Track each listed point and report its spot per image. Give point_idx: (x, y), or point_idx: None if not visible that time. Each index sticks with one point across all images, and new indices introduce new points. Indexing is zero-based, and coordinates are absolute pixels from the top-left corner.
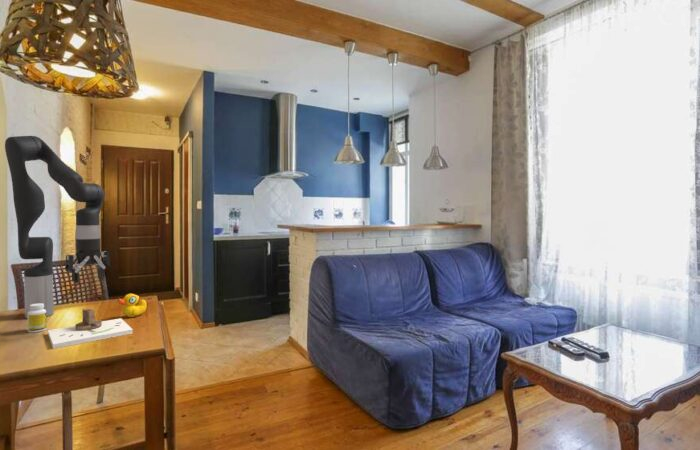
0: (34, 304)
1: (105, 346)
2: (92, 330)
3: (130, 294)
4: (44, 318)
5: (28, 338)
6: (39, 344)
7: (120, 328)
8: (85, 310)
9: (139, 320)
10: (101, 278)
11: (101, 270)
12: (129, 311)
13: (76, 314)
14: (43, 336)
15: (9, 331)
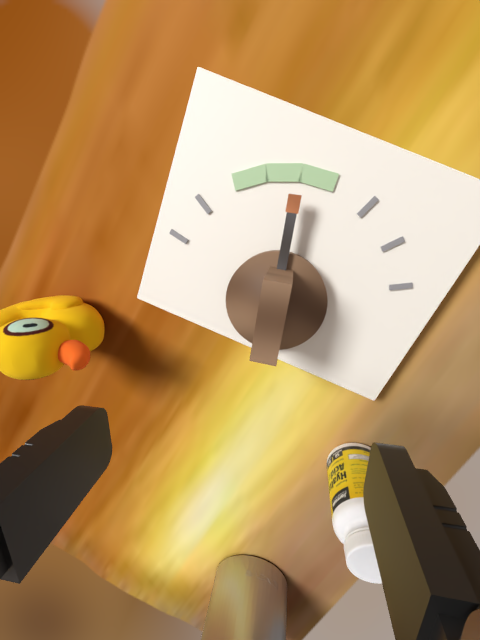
0: (378, 574)
1: None
2: (298, 237)
3: (9, 353)
4: (350, 478)
5: (428, 409)
6: (470, 307)
7: (219, 144)
8: (280, 335)
9: (91, 245)
10: (100, 409)
11: (9, 495)
12: (85, 311)
13: (185, 504)
14: (392, 385)
15: None
